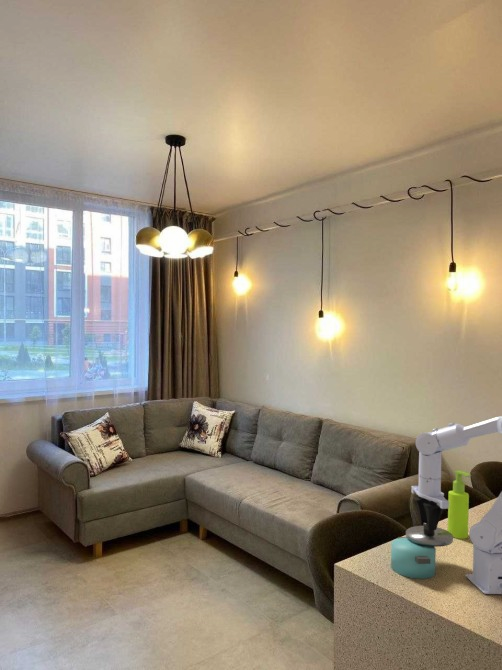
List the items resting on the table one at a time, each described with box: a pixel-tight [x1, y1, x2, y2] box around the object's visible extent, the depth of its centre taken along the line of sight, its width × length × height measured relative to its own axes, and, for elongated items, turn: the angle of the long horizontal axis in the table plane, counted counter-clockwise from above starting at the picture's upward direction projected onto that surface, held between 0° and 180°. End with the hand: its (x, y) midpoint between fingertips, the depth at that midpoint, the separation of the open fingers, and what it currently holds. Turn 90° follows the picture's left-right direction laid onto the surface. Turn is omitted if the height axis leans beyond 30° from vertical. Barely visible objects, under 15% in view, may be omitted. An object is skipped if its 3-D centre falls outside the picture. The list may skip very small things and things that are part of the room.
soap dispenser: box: [447, 469, 472, 540], centre depth 156 cm, size 6×7×20 cm
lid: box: [405, 521, 454, 548], centre depth 136 cm, size 12×12×4 cm
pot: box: [390, 536, 437, 580], centre depth 131 cm, size 14×11×6 cm
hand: (428, 527), depth 135 cm, fingers closed on lid, 3 cm apart
